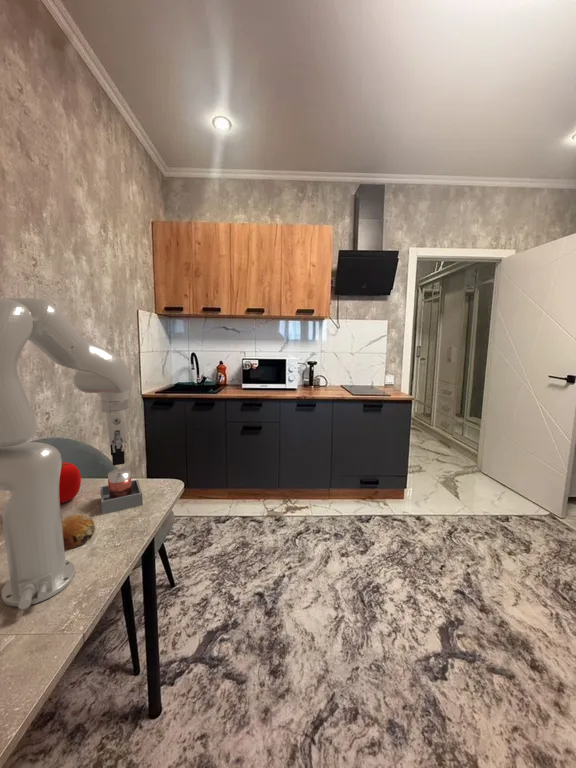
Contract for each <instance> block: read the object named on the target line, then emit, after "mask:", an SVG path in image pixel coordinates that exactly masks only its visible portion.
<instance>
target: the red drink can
mask: <svg viewBox="0 0 576 768" xmlns="http://www.w3.org/2000/svg"><path fill="white" fill-rule="evenodd" d="M131 481H132V474H131V470H130V469H129V468H125V467H124V468H116V469H113V470H110V471H109V472H108V473H107V485H108V486H109V497H110V499H114V498H119V497H123V496H128V495H132V484H131Z"/></svg>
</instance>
